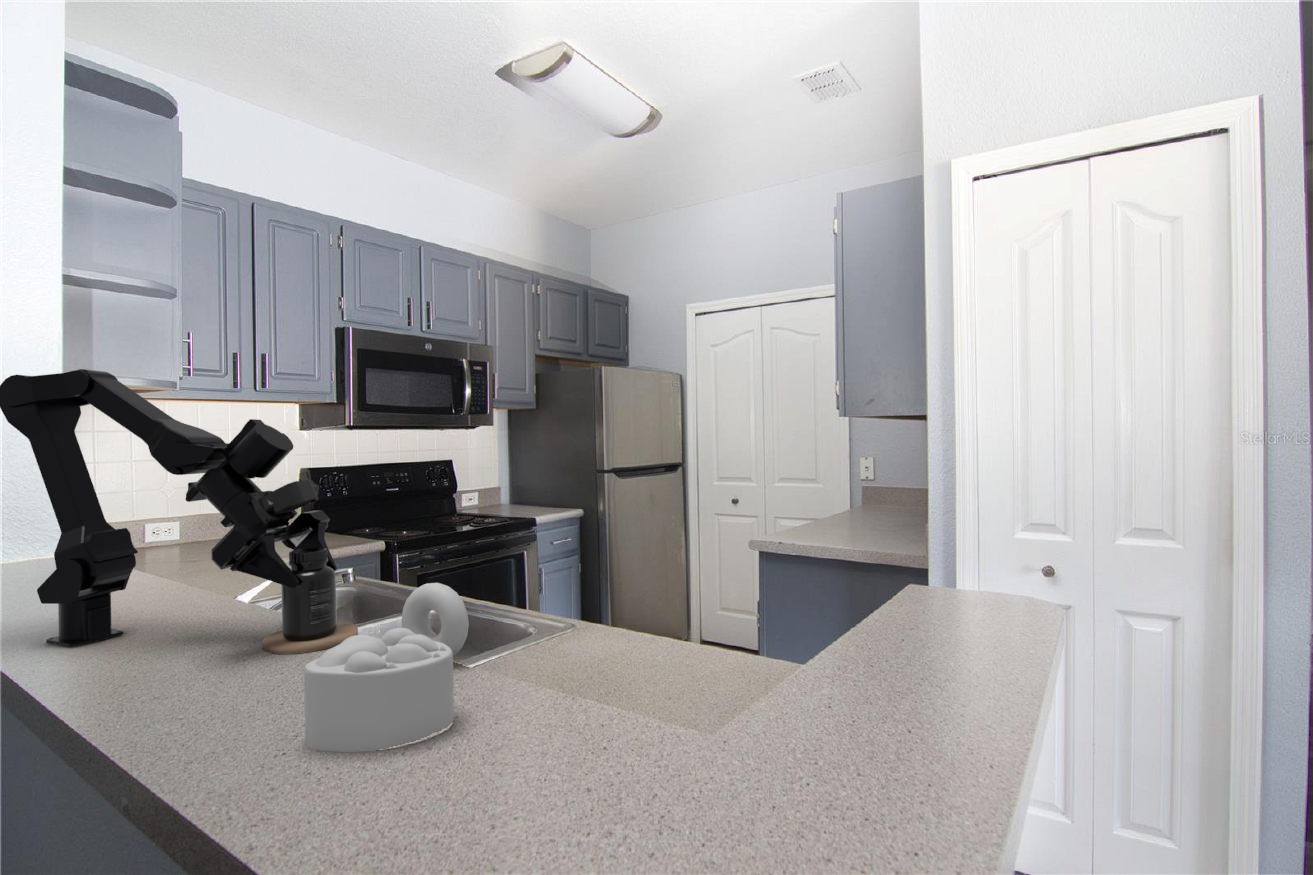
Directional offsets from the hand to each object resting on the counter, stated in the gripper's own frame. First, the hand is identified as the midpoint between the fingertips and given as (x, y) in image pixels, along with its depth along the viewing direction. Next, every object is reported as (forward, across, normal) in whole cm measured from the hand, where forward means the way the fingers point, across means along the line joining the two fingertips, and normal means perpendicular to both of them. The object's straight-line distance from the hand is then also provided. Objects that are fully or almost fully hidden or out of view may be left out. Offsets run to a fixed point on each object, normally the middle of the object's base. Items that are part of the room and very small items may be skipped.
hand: (316, 578), depth 91 cm
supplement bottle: (+5, 0, +6) cm, 8 cm away
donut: (+21, -8, -8) cm, 24 cm away
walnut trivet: (+6, 0, +7) cm, 9 cm away
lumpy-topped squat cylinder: (+23, -27, -10) cm, 36 cm away
